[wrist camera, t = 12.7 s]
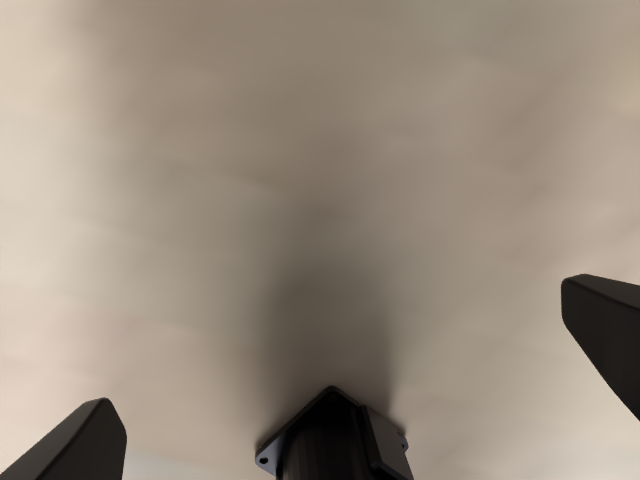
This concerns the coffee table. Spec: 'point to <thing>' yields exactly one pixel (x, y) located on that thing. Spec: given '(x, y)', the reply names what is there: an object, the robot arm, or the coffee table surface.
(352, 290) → the coffee table surface
